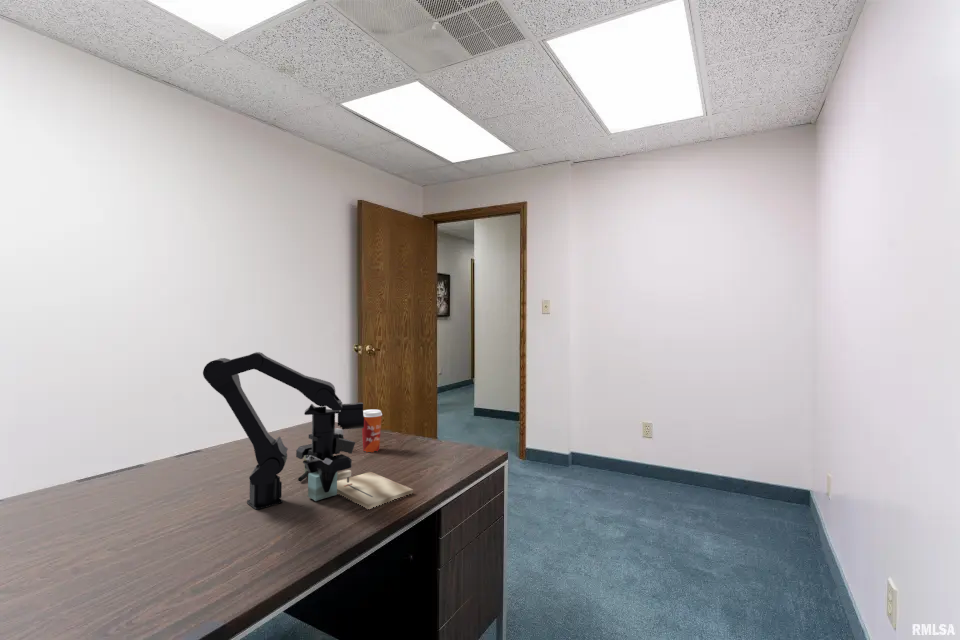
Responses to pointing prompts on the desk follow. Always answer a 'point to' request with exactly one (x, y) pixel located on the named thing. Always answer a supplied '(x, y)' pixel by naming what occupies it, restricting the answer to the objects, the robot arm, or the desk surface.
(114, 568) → the desk surface
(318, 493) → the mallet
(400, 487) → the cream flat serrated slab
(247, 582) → the desk surface
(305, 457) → the handheld radio
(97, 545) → the desk surface
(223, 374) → the robot arm
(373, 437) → the paper cup
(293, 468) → the desk surface
